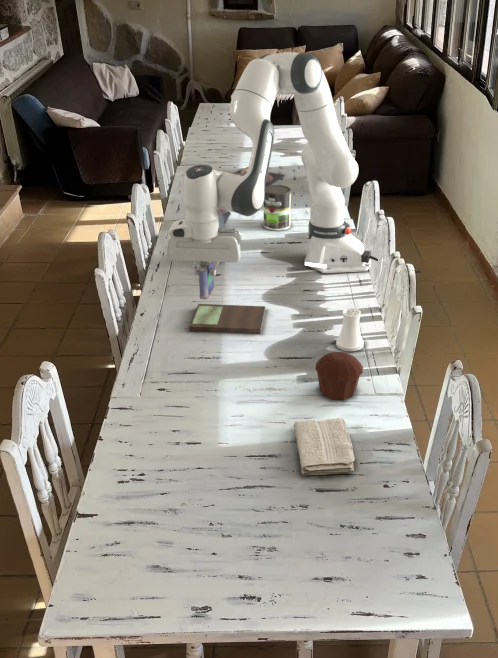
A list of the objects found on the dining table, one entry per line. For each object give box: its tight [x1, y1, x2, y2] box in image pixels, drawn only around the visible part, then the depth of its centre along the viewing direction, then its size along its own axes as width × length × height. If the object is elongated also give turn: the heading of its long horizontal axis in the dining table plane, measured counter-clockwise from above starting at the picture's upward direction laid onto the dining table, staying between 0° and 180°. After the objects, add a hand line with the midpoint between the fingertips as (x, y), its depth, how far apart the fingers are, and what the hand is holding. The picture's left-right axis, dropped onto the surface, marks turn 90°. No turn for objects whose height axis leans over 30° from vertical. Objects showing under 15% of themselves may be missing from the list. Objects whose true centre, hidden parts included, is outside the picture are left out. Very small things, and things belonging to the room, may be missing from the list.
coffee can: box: [263, 184, 292, 232], centre depth 270 cm, size 10×10×14 cm
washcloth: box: [293, 417, 356, 476], centre depth 160 cm, size 12×18×3 cm, turn 7°
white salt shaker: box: [335, 307, 365, 352], centre depth 197 cm, size 8×8×10 cm
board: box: [189, 303, 266, 335], centre depth 210 cm, size 20×14×2 cm
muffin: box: [315, 350, 364, 401], centre depth 178 cm, size 12×11×10 cm
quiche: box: [234, 166, 284, 187], centre depth 321 cm, size 21×20×4 cm
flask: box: [198, 261, 215, 301], centre depth 204 cm, size 9×3×11 cm, turn 170°
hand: (205, 274), depth 203 cm, fingers closed on flask, 3 cm apart
